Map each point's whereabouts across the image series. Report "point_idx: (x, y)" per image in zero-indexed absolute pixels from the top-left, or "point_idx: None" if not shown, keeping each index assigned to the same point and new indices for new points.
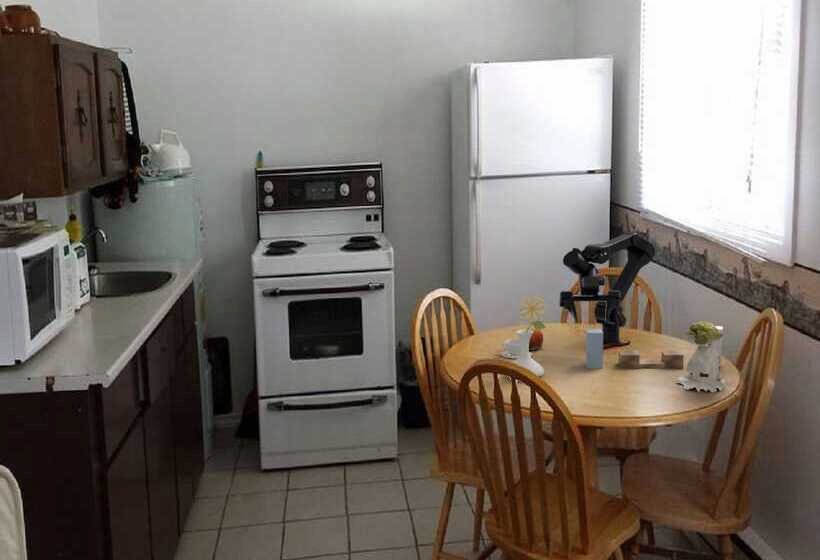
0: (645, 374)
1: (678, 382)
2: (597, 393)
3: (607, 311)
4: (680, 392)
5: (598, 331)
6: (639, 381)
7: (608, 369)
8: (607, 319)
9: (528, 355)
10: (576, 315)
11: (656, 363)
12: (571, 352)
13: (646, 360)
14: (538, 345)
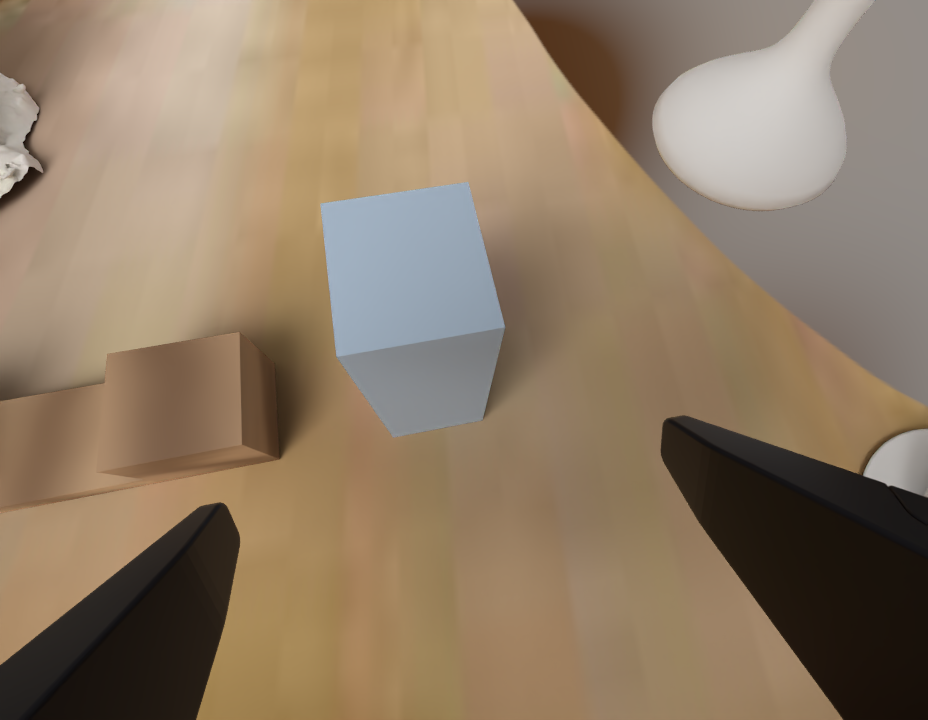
0: (159, 273)
1: (33, 158)
2: (400, 32)
3: (70, 639)
4: (72, 78)
5: (366, 247)
6: (213, 172)
7: None
8: (189, 516)
9: (781, 40)
10: (728, 449)
11: (35, 406)
12: (621, 705)
13: (81, 465)
14: None
